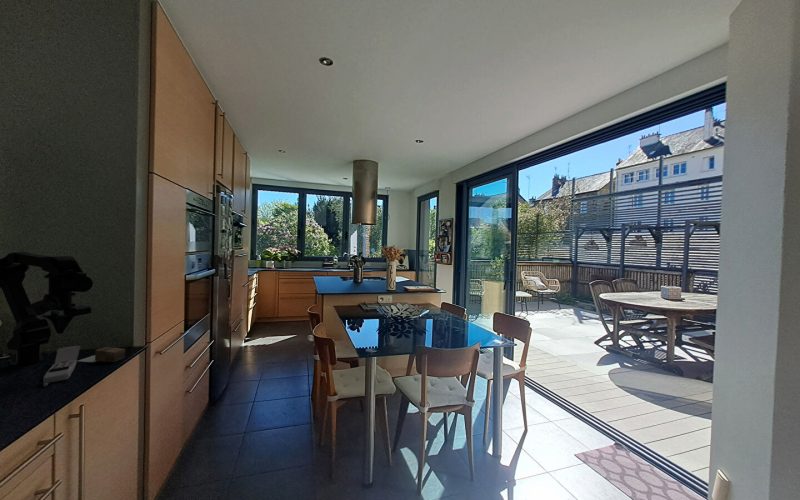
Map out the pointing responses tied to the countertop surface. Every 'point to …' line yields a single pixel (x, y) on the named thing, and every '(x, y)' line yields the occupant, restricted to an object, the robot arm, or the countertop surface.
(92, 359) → the grey mat
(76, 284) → the robot arm
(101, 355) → the walnut block
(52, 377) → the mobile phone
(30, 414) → the countertop surface
